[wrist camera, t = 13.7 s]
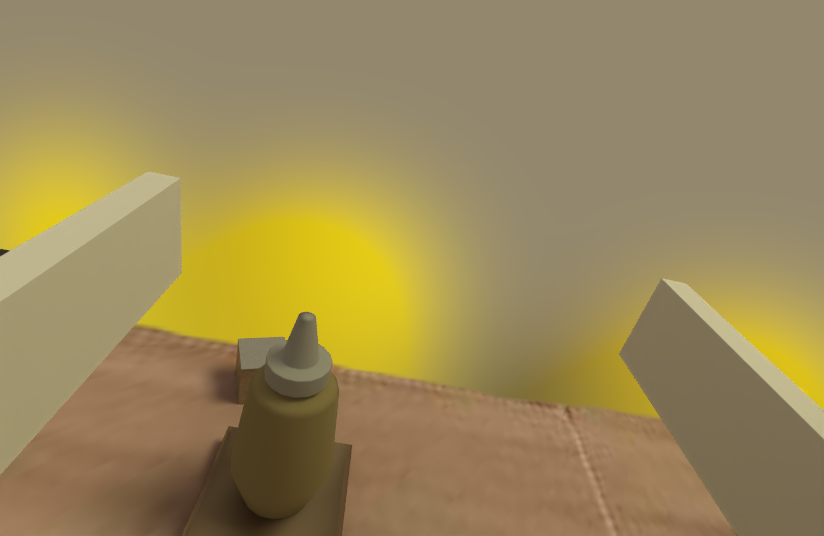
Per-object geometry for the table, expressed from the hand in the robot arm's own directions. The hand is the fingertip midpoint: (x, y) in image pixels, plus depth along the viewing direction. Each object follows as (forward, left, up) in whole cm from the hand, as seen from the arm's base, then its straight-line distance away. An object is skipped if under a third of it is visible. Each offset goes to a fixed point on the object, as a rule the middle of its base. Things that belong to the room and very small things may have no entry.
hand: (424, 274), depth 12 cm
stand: (+4, -15, -33) cm, 37 cm away
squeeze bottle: (+4, -15, -31) cm, 35 cm away
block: (+9, -29, -33) cm, 45 cm away
